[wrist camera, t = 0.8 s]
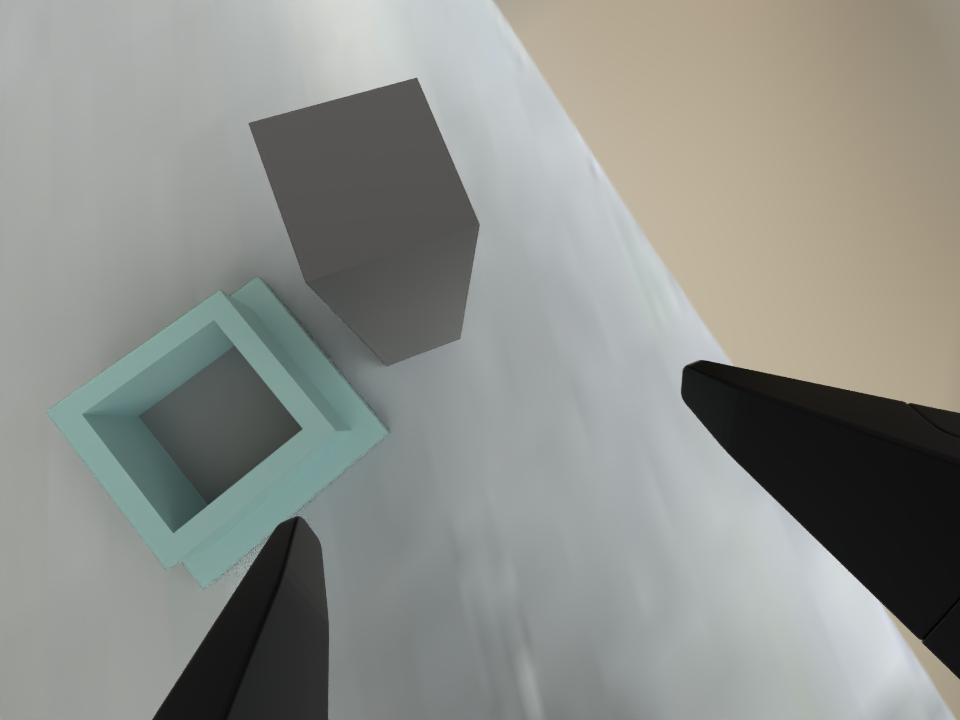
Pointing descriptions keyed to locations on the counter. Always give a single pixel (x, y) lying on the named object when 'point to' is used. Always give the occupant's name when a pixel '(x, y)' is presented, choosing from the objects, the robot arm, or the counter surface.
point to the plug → (375, 215)
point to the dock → (218, 429)
